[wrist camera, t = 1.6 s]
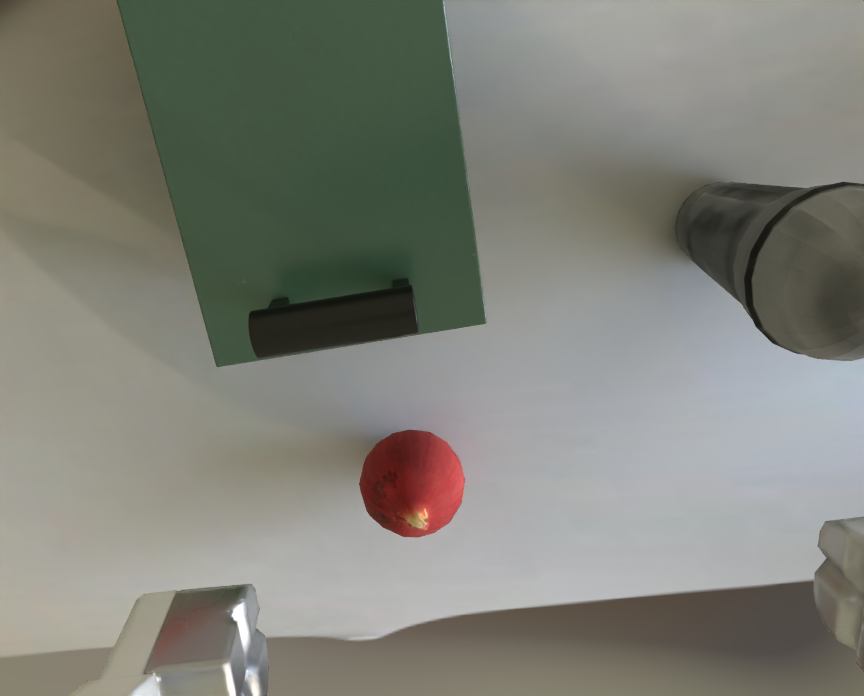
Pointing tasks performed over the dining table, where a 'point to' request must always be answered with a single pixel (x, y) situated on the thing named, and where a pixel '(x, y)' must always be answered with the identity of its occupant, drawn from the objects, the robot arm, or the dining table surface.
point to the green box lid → (311, 168)
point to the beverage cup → (785, 259)
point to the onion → (412, 483)
